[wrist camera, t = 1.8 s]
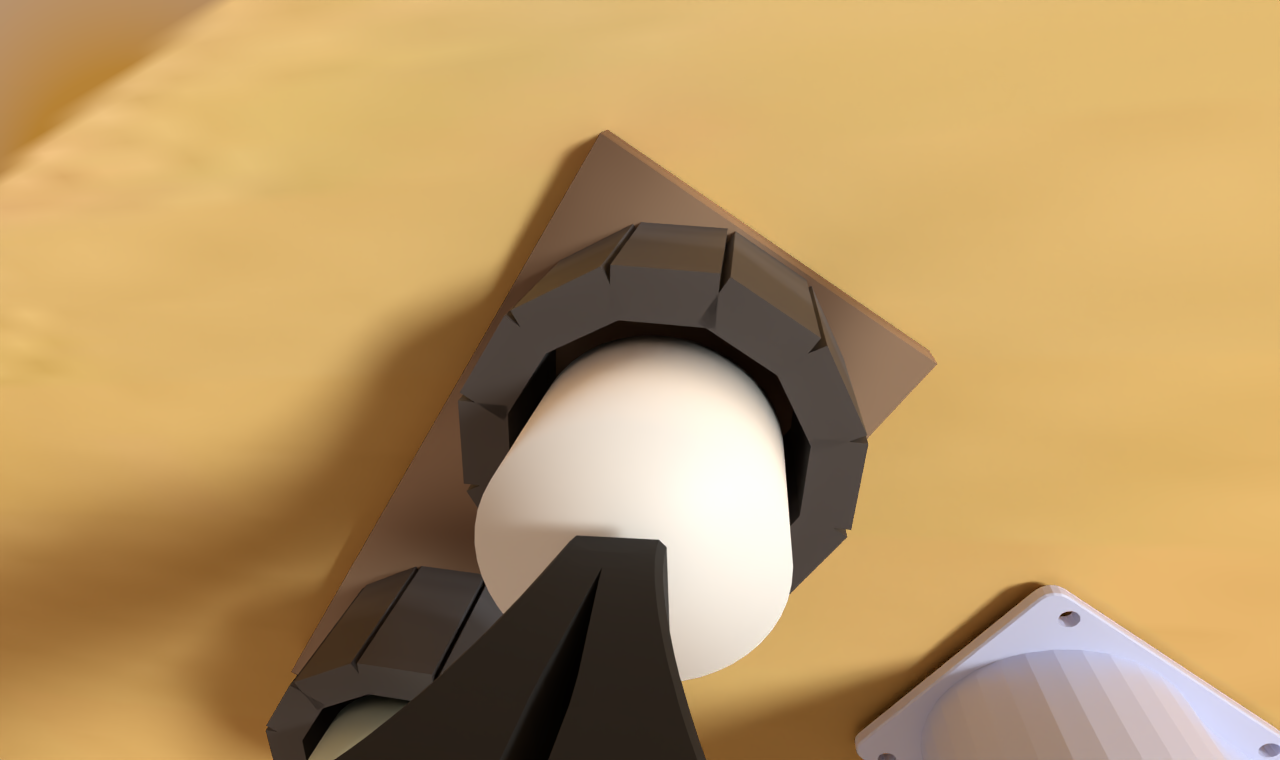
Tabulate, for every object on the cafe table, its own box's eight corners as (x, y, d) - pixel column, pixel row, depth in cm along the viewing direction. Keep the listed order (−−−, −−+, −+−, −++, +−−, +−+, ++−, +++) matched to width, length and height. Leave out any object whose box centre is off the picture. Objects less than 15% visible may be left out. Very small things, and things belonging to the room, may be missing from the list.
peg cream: (837, 429, 13) (863, 542, 10) (690, 592, 15) (673, 727, 12) (616, 283, 13) (572, 355, 10) (494, 472, 15) (425, 581, 12)
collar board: (929, 351, 17) (986, 443, 13) (531, 781, 25) (488, 920, 21) (607, 129, 16) (556, 151, 12) (305, 653, 24) (213, 773, 20)
